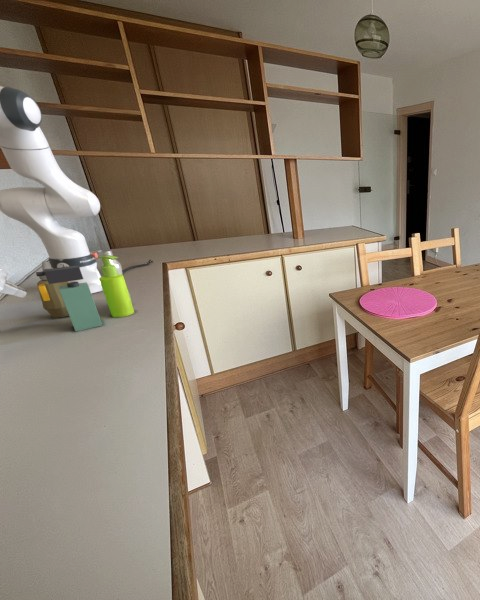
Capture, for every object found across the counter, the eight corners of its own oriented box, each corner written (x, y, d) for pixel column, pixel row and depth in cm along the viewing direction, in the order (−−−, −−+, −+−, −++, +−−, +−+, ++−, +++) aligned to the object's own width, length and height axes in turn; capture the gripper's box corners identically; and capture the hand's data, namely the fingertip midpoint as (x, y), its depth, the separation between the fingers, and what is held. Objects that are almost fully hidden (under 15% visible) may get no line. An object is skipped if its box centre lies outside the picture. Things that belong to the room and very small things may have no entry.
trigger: (43, 301, 87) (38, 287, 86) (43, 298, 89) (38, 284, 88) (50, 300, 88) (44, 286, 86) (49, 297, 90) (44, 283, 88)
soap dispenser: (124, 318, 102) (104, 258, 95) (106, 316, 103) (86, 257, 96) (141, 311, 107) (124, 254, 100) (124, 309, 109) (106, 253, 101)
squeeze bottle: (87, 311, 106) (69, 260, 100) (57, 321, 99) (34, 266, 92) (72, 308, 108) (53, 257, 102) (41, 317, 101) (18, 263, 95)
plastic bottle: (114, 311, 107) (95, 254, 100) (106, 307, 110) (87, 251, 103) (137, 305, 112) (120, 250, 105) (129, 301, 115) (112, 248, 108)
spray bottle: (60, 335, 91) (35, 273, 84) (59, 329, 94) (35, 269, 87) (102, 325, 97) (82, 267, 90) (100, 320, 100) (80, 264, 93)
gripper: (-50, 263, 69) (33, 294, 79) (-36, 248, 82) (34, 277, 92) (-74, 286, 68) (14, 315, 78) (-56, 268, 81) (17, 294, 91)
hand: (25, 294), depth 85 cm, fingers closed
